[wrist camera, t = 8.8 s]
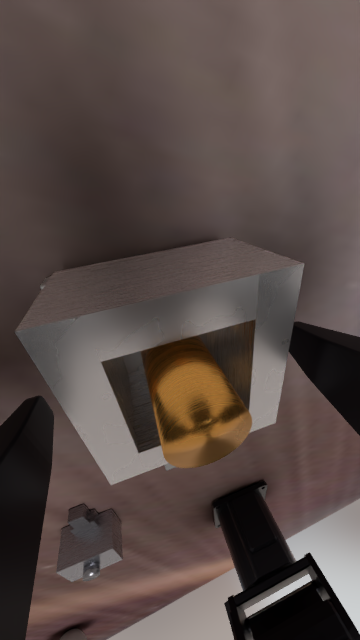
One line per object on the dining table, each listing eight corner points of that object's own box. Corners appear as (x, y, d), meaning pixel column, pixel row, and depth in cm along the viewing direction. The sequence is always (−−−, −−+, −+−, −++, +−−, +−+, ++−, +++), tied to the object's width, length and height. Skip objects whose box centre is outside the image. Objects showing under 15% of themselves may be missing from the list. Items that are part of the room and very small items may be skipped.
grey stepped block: (120, 521, 20) (123, 569, 18) (75, 540, 19) (70, 593, 17) (102, 496, 17) (102, 549, 15) (48, 517, 17) (38, 576, 14)
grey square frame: (230, 361, 13) (275, 422, 9) (109, 399, 11) (110, 485, 8) (230, 237, 9) (304, 263, 6) (53, 272, 8) (14, 331, 4)
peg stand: (230, 388, 15) (299, 495, 10) (115, 427, 14) (121, 576, 8) (231, 240, 10) (376, 295, 5) (46, 277, 9) (-53, 417, 3)
